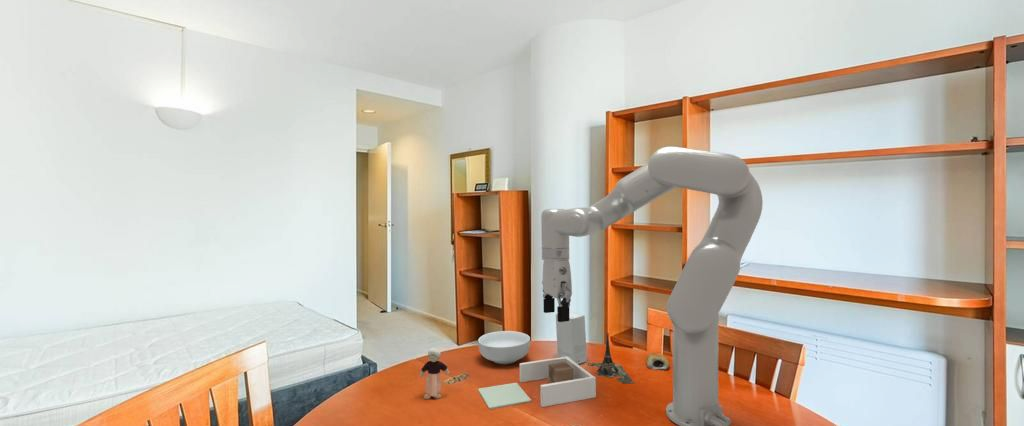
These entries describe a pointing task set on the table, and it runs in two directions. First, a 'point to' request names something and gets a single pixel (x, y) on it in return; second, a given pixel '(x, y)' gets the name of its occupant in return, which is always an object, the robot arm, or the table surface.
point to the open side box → (559, 391)
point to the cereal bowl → (504, 346)
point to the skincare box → (572, 338)
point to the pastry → (657, 361)
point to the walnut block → (560, 372)
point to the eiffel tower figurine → (611, 367)
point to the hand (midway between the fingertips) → (556, 316)
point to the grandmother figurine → (433, 374)
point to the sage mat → (503, 395)
